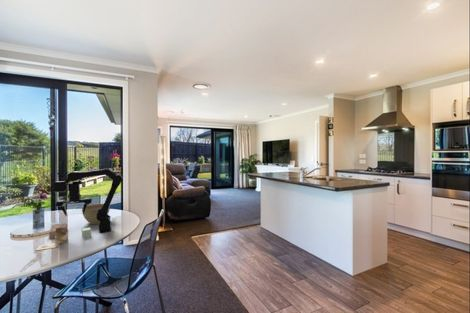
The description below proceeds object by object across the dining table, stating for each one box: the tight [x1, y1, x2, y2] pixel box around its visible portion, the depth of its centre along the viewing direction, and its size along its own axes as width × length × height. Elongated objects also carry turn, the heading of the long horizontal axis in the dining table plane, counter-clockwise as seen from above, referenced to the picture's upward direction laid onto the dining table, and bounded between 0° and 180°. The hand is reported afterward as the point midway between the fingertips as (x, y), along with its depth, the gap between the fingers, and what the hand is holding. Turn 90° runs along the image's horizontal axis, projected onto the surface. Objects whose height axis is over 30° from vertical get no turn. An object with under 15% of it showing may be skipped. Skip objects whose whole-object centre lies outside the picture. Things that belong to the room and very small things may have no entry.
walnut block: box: [56, 224, 68, 236], centre depth 135 cm, size 4×4×4 cm
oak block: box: [54, 231, 69, 244], centre depth 135 cm, size 5×5×4 cm
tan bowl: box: [81, 203, 111, 225], centre depth 169 cm, size 18×18×12 cm
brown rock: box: [48, 222, 68, 239], centre depth 148 cm, size 17×8×5 cm, turn 34°
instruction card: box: [34, 242, 60, 252], centre depth 127 cm, size 9×7×1 cm
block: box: [81, 227, 92, 239], centre depth 143 cm, size 4×4×4 cm
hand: (75, 215), depth 145 cm, fingers open, 9 cm apart
